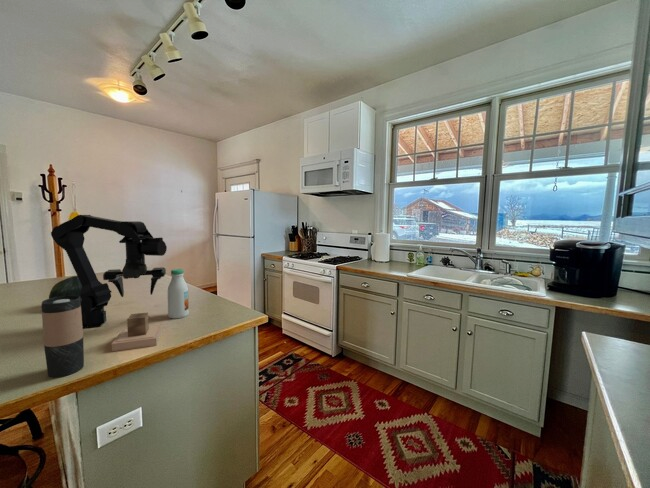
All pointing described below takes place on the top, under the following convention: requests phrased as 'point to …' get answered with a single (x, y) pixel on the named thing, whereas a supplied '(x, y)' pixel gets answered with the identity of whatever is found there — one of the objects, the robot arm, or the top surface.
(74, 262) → the robot arm
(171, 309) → the milk bottle
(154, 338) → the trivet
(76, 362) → the travel mug
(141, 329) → the walnut block
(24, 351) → the top surface
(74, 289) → the squash
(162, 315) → the top surface
